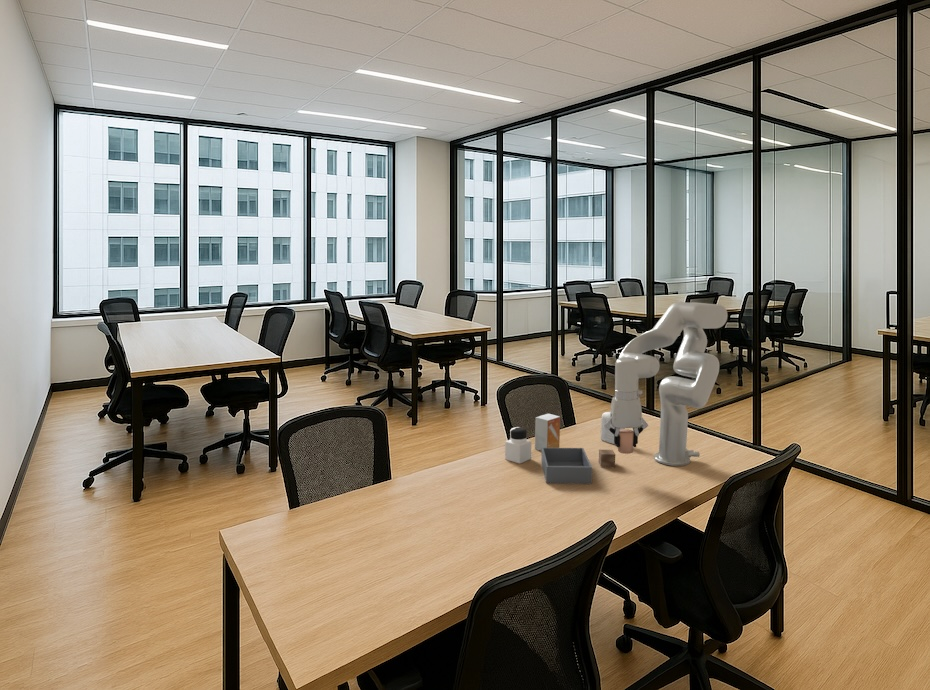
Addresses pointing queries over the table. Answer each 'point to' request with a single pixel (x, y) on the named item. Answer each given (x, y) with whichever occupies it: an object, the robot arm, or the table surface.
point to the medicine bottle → (518, 446)
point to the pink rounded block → (626, 441)
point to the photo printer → (605, 433)
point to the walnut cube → (606, 458)
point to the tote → (566, 465)
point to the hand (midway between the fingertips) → (625, 445)
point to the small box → (547, 431)
